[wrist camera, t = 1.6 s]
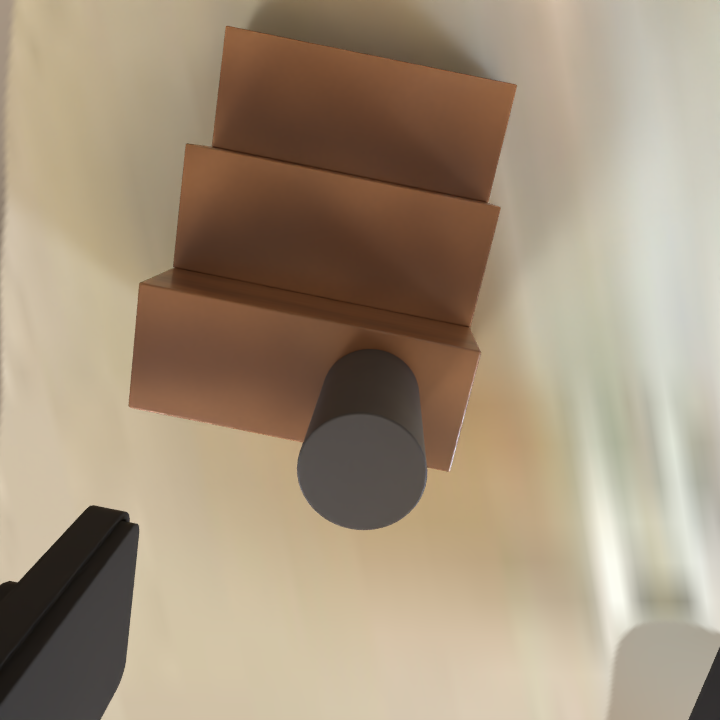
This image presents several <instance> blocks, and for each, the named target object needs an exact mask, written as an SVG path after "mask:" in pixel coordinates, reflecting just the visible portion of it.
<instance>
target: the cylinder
mask: <svg viewBox="0 0 720 720" xmlns="http://www.w3.org/2000/svg"><path fill="white" fill-rule="evenodd" d="M297 476H298V481H299V485H300V488H301V490H302V493H303V495H304V497H305V498H306V500H307V501H308V503H309V504H310V505H311V506H312V508H313V509H314V510H315V511H316V512H317V513H319V514H320V515H321V516H322V517H324V518H325V519H327V520H328V521H330V522H332V523H334V524H337V525H339V526H342V527H345V528H349V529H356V530H372V529H378V528H383V527H385V526H388V525H391V524H393V523H395V522H397V521H399V520H400V519H402V518H403V517H405V516H406V515H407V514H408V513H409V512H410V511H411V510H412V509H413V508H414V507H415V506H416V504H417V503H418V502H419V500H420V498H421V496H422V494H423V492H424V489H425V486H426V481H427V463H426V453H425V444H424V434H423V425H422V415H421V405H420V396H419V387H418V383H417V380H416V378H415V376H414V374H413V372H412V370H411V369H410V368H409V367H408V365H407V364H406V363H405V362H404V361H402V360H401V359H400V358H398V357H397V356H395V355H393V354H391V353H389V352H386V351H382V350H377V349H363V350H358V351H354V352H351V353H349V354H347V355H345V356H343V357H342V358H341V359H339V360H338V361H337V362H336V363H335V364H334V365H333V366H332V367H331V369H330V370H329V372H328V373H327V375H326V378H325V380H324V383H323V386H322V389H321V392H320V395H319V398H318V400H317V403H316V406H315V409H314V412H313V415H312V418H311V421H310V424H309V427H308V430H307V433H306V436H305V439H304V441H303V444H302V447H301V450H300V454H299V457H298V464H297Z"/></svg>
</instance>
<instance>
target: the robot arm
mask: <svg viewBox="0 0 720 720" xmlns="http://www.w3.org/2000/svg"><path fill="white" fill-rule="evenodd" d="M138 539H139V525H138V524H135V523H130V518H129V514H128V513H127V512H124V511H119V510H114V509H109V508H104V507H99V506H94V505H93V506H89V507H88V508H87V509H86V510H85V511H84V512H83V513H82V514H81V515H80V516H79V517H78V518H77V520H76V521H75V522H74V523H73V524H72V525H71V526H70V527H69V528H68V529H67V530H66V531H65V532H64V534H63V535H62V536H61V537H60V538H59V539H58V540H57V541H56V542H55V543H54V544H53V545H52V546H51V548H50V549H49V550H48V551H47V552H46V553H45V554H44V555H43V556H42V557H41V558H40V559H39V560H38V561H37V563H36V564H35V565H34V566H33V567H32V568H31V569H30V570H29V571H28V572H27V573H26V574H25V575H24V577H23V578H22V579H21V580H20V581H19V582H18V583H17V582H12V581H8V582H5V583H3V584H1V585H0V720H100V719H101V717H102V716H103V714H104V712H105V710H106V708H107V706H108V705H109V703H110V701H111V699H112V697H113V695H114V693H115V692H116V690H117V688H118V686H119V683H120V681H121V678H122V675H123V672H124V668H125V663H126V655H127V645H128V636H129V626H130V616H131V606H132V597H133V587H134V577H135V568H136V558H137V548H138ZM689 720H720V648H719V650H718V652H717V655H716V657H715V659H714V662H713V664H712V666H711V669H710V671H709V673H708V676H707V678H706V680H705V682H704V685H703V687H702V689H701V692H700V694H699V696H698V699H697V701H696V703H695V706H694V708H693V711H692V713H691V715H690V717H689Z"/></svg>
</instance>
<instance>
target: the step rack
mask: <svg viewBox="0 0 720 720" xmlns="http://www.w3.org/2000/svg"><path fill="white" fill-rule="evenodd" d="M516 88H517V85H515V84H511V83H506V82H501V81H496V80H491V79H486V78H481V77H476V76H471V75H466V74H461V73H456V72H452V71H447V70H442V69H437V68H432V67H427V66H422V65H417V64H412V63H407V62H402V61H397V60H393V59H388V58H383V57H378V56H373V55H368V54H363V53H358V52H353V51H348V50H343V49H338V48H334V47H329V46H324V45H319V44H314V43H309V42H304V41H299V40H294V39H289V38H284V37H279V36H275V35H270V34H265V33H260V32H255V31H250V30H245V29H240V28H235V27H230V26H226V30H225V38H224V47H223V56H222V64H221V73H220V81H219V90H218V99H217V107H216V116H215V125H214V133H213V142H212V147H209V146H201V145H194V144H186V148H185V158H184V167H183V177H182V187H181V196H180V206H179V216H178V225H177V235H176V245H175V254H174V264H173V267H174V268H172V269H170V270H168V271H166V272H163V273H161V274H159V275H156V276H154V277H152V278H150V279H147V280H145V281H143V282H140V284H139V293H138V304H137V316H136V327H135V338H134V350H133V361H132V372H131V384H130V395H129V407H130V408H134V409H139V410H144V411H149V412H154V413H159V414H164V415H169V416H174V417H179V418H184V419H189V420H194V421H199V422H204V423H209V424H214V425H219V426H224V427H228V428H233V429H238V430H243V431H248V432H253V433H258V434H263V435H268V436H273V437H278V438H283V439H288V440H293V441H298V442H303V441H304V439H305V436H306V433H307V430H308V427H309V424H310V421H311V418H312V415H313V412H314V409H315V406H316V403H317V400H318V398H319V395H320V392H321V389H322V386H323V383H324V380H325V378H326V375H327V373H328V372H329V370H330V369H331V367H332V366H333V365H334V364H335V363H336V362H337V361H338V360H339V359H341V358H342V357H343V356H345V355H347V354H349V353H351V352H354V351H358V350H363V349H377V350H382V351H386V352H389V353H391V354H393V355H395V356H397V357H398V358H400V359H401V360H402V361H404V362H405V363H406V364H407V365H408V367H409V368H410V369H411V370H412V372H413V374H414V376H415V378H416V380H417V383H418V387H419V396H420V405H421V415H422V425H423V434H424V444H425V453H426V463H427V468H432V469H437V470H442V471H447V472H449V471H450V469H451V466H452V462H453V458H454V454H455V450H456V447H457V443H458V439H459V435H460V431H461V428H462V424H463V420H464V416H465V412H466V409H467V405H468V401H469V397H470V393H471V390H472V386H473V382H474V378H475V374H476V371H477V367H478V363H479V359H480V355H481V351H480V349H479V347H478V344H477V342H476V340H475V338H474V336H473V334H472V332H471V329H470V326H471V323H472V319H473V315H474V311H475V307H476V303H477V300H478V296H479V292H480V288H481V284H482V280H483V276H484V272H485V268H486V264H487V260H488V256H489V252H490V248H491V244H492V241H493V237H494V233H495V229H496V225H497V221H498V217H499V213H500V209H501V208H500V207H498V206H495V205H493V204H490V203H487V202H488V201H489V197H490V193H491V189H492V185H493V181H494V177H495V173H496V168H497V164H498V160H499V156H500V152H501V148H502V144H503V140H504V136H505V132H506V128H507V124H508V120H509V116H510V112H511V108H512V104H513V100H514V96H515V92H516Z"/></svg>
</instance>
